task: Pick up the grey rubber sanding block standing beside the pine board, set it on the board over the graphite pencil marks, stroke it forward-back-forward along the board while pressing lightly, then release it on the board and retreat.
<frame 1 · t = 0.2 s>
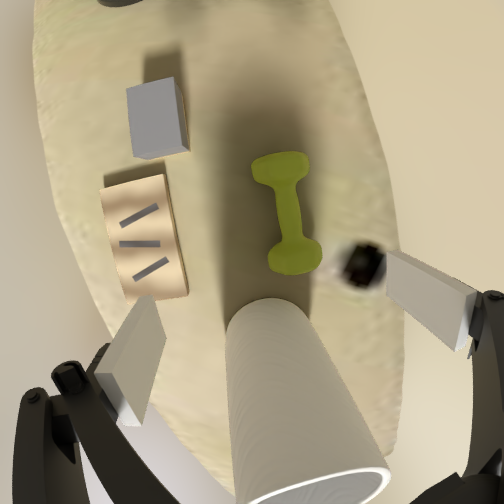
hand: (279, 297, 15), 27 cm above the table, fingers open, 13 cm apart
vase: (267, 333, 46), on the table
board: (145, 240, 40), on the table
sanding block: (165, 126, 36), on the table
dumbbell: (283, 209, 41), on the table
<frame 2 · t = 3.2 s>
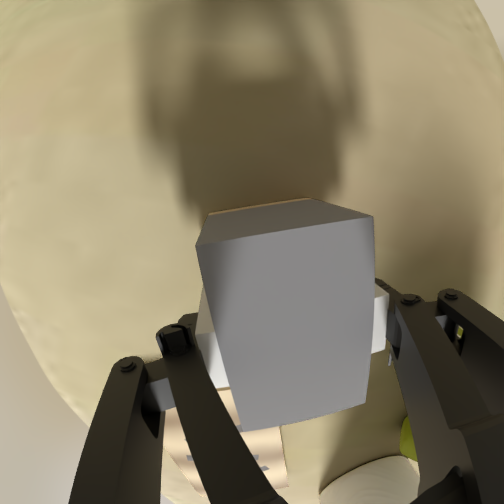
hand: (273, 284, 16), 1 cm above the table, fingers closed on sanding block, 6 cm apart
vase: (363, 478, 28), on the table
board: (226, 442, 22), on the table
sanding block: (269, 275, 18), on the table, touching gripper
dumbbell: (424, 377, 23), on the table
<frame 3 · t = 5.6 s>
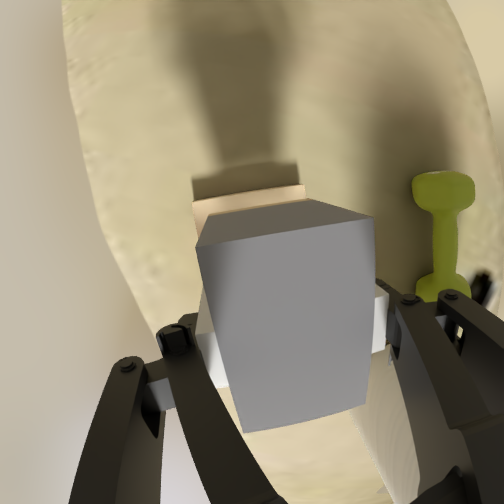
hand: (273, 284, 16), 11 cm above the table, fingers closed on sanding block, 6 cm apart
vase: (385, 376, 35), on the table
board: (260, 280, 28), on the table
sanding block: (269, 276, 18), point 10 cm above the table, touching gripper
dumbbell: (425, 237, 30), on the table
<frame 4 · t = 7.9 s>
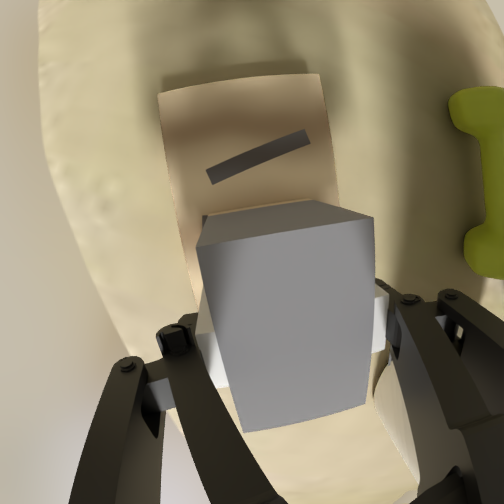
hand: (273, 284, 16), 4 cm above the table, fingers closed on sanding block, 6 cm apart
vase: (423, 368, 25), on the table
board: (258, 217, 19), on the table
sanding block: (269, 276, 18), point 2 cm above the table, touching gripper
dumbbell: (469, 178, 20), on the table
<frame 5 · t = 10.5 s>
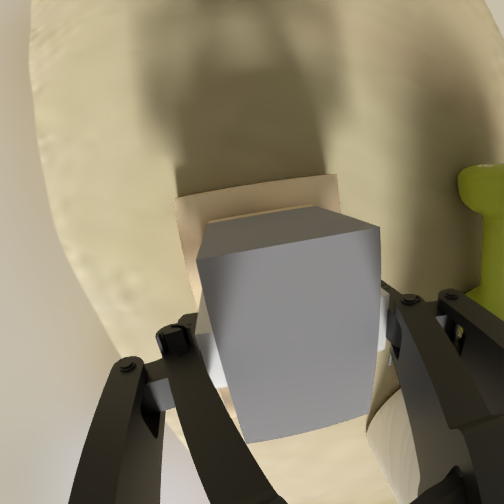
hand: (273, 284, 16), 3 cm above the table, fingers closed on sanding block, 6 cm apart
vase: (412, 406, 27), on the table
board: (271, 308, 21), on the table
sanding block: (271, 284, 17), point 2 cm above the table, touching gripper
dumbbell: (469, 245, 22), on the table
when the fingers open (4 cm above the table, at t = 12.8 s): sanding block stays where it is, resting on board.
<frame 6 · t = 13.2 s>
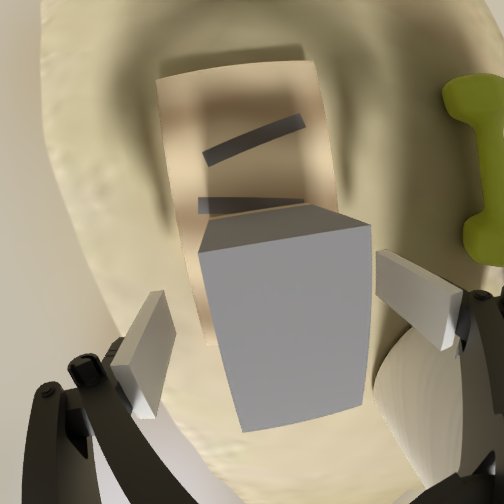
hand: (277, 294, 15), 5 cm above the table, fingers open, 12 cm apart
vase: (423, 360, 25), on the table
board: (255, 201, 19), on the table
sanding block: (269, 279, 18), point 2 cm above the table, touching board
dumbbell: (466, 166, 20), on the table
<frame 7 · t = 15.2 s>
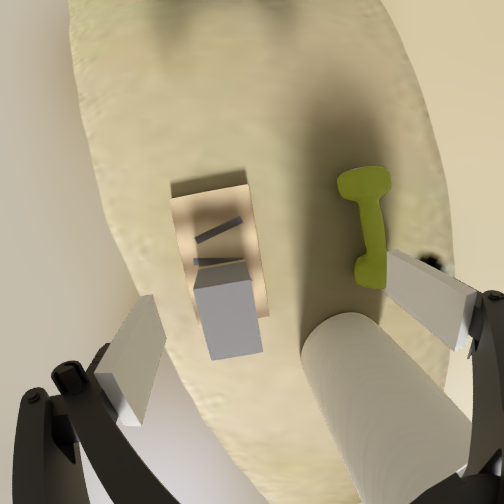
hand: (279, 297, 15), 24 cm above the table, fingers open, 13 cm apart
vase: (339, 347, 44), on the table
board: (221, 257, 38), on the table
sanding block: (228, 295, 37), point 2 cm above the table, touching board
dumbbell: (360, 223, 39), on the table
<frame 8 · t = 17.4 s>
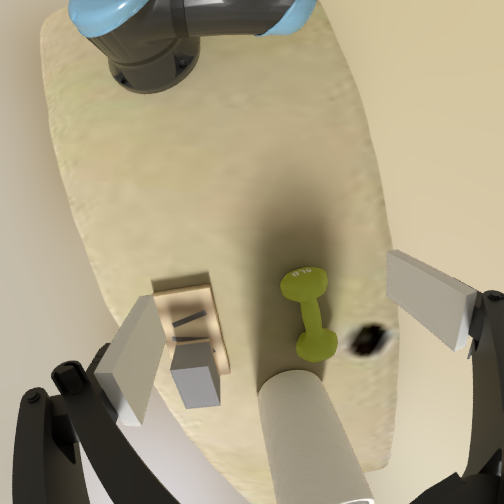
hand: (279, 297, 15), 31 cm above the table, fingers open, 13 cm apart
vase: (289, 391, 55), on the table
board: (193, 333, 49), on the table
sanding block: (198, 360, 48), point 2 cm above the table, touching board
dumbbell: (305, 306, 50), on the table
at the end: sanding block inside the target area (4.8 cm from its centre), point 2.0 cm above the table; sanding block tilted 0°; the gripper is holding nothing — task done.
